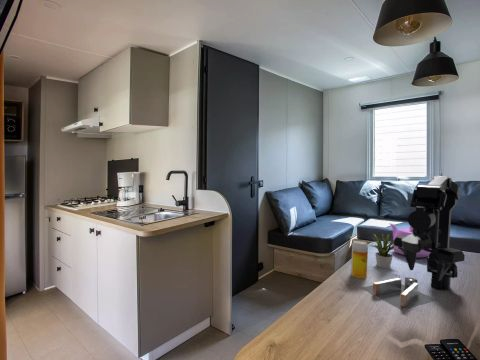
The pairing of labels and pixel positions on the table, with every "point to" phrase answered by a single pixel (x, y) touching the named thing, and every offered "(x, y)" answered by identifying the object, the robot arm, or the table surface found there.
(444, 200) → the robot arm
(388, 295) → the charcoal mat
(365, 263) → the beer can
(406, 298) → the tongs hinged arm
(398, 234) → the teapot
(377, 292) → the arm
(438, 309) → the table surface
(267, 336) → the table surface
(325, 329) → the table surface
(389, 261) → the house plant
